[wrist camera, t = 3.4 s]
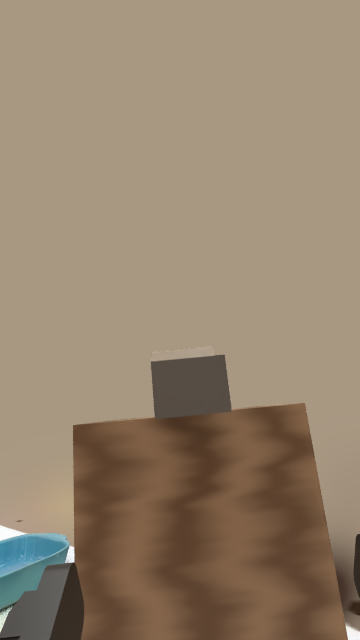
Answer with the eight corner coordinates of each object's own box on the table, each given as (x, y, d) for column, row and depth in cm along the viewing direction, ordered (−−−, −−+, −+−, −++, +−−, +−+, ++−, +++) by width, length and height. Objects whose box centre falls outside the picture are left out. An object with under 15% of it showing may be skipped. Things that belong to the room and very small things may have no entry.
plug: (215, 410, 36) (209, 354, 38) (250, 409, 18) (235, 300, 19) (159, 416, 36) (155, 359, 38) (135, 421, 18) (129, 310, 19)
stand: (316, 758, 32) (263, 405, 40) (416, 1014, 18) (304, 403, 27) (123, 780, 31) (110, 420, 40) (80, 1058, 18) (73, 425, 26)
